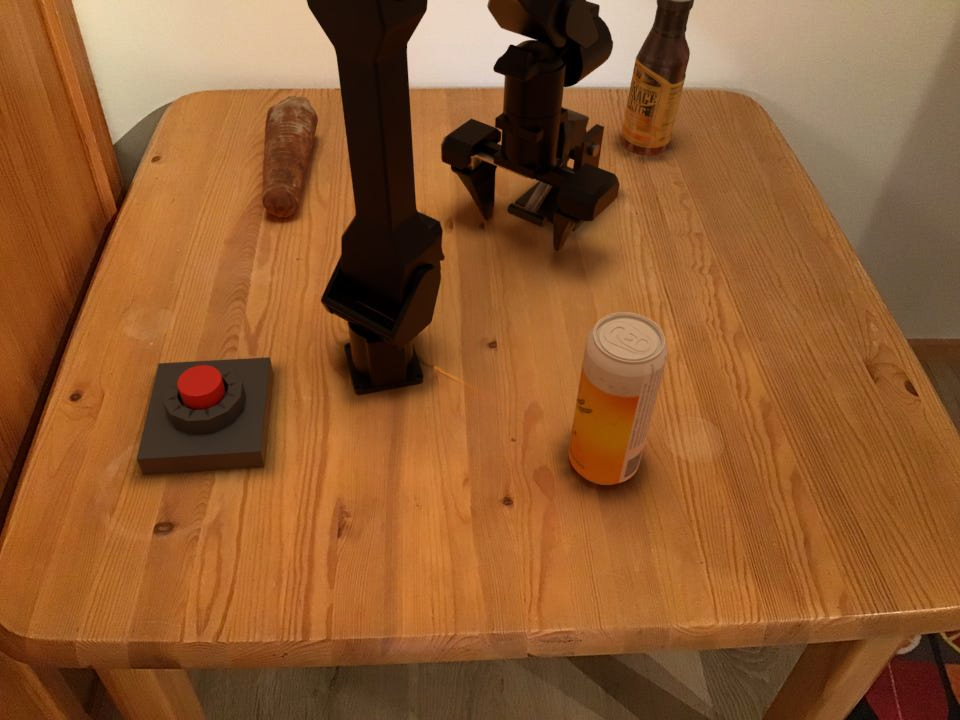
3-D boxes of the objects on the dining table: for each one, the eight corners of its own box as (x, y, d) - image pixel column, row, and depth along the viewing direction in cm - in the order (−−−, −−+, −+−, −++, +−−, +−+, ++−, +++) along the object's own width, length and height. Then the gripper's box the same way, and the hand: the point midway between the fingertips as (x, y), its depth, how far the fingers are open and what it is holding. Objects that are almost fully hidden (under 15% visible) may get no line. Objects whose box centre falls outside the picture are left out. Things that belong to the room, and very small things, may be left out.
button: (222, 408, 71) (218, 394, 70) (178, 411, 71) (174, 397, 70) (227, 377, 74) (223, 363, 73) (185, 380, 74) (180, 365, 72)
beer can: (593, 423, 76) (616, 297, 65) (651, 458, 73) (686, 333, 63) (553, 464, 73) (571, 339, 62) (613, 502, 70) (642, 378, 59)
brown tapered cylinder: (320, 134, 109) (316, 94, 105) (304, 223, 96) (298, 181, 92) (271, 133, 109) (264, 93, 105) (247, 223, 95) (239, 181, 91)
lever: (543, 232, 93) (539, 221, 90) (509, 217, 94) (504, 206, 92) (598, 144, 95) (595, 132, 92) (563, 131, 96) (560, 119, 94)
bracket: (573, 235, 95) (583, 159, 88) (514, 209, 98) (519, 134, 91) (616, 194, 101) (628, 120, 94) (559, 171, 104) (567, 98, 97)
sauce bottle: (610, 139, 110) (634, -17, 96) (651, 129, 112) (680, -25, 98) (637, 165, 106) (667, 6, 92) (679, 154, 108) (714, -3, 93)
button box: (264, 467, 72) (257, 437, 69) (143, 475, 71) (130, 445, 68) (273, 373, 79) (267, 343, 76) (164, 379, 78) (153, 349, 76)
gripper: (656, 101, 84) (632, 229, 95) (500, 47, 91) (494, 172, 102) (600, 149, 77) (581, 281, 88) (437, 88, 84) (438, 216, 96)
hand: (522, 233), depth 94 cm, fingers open, 9 cm apart
